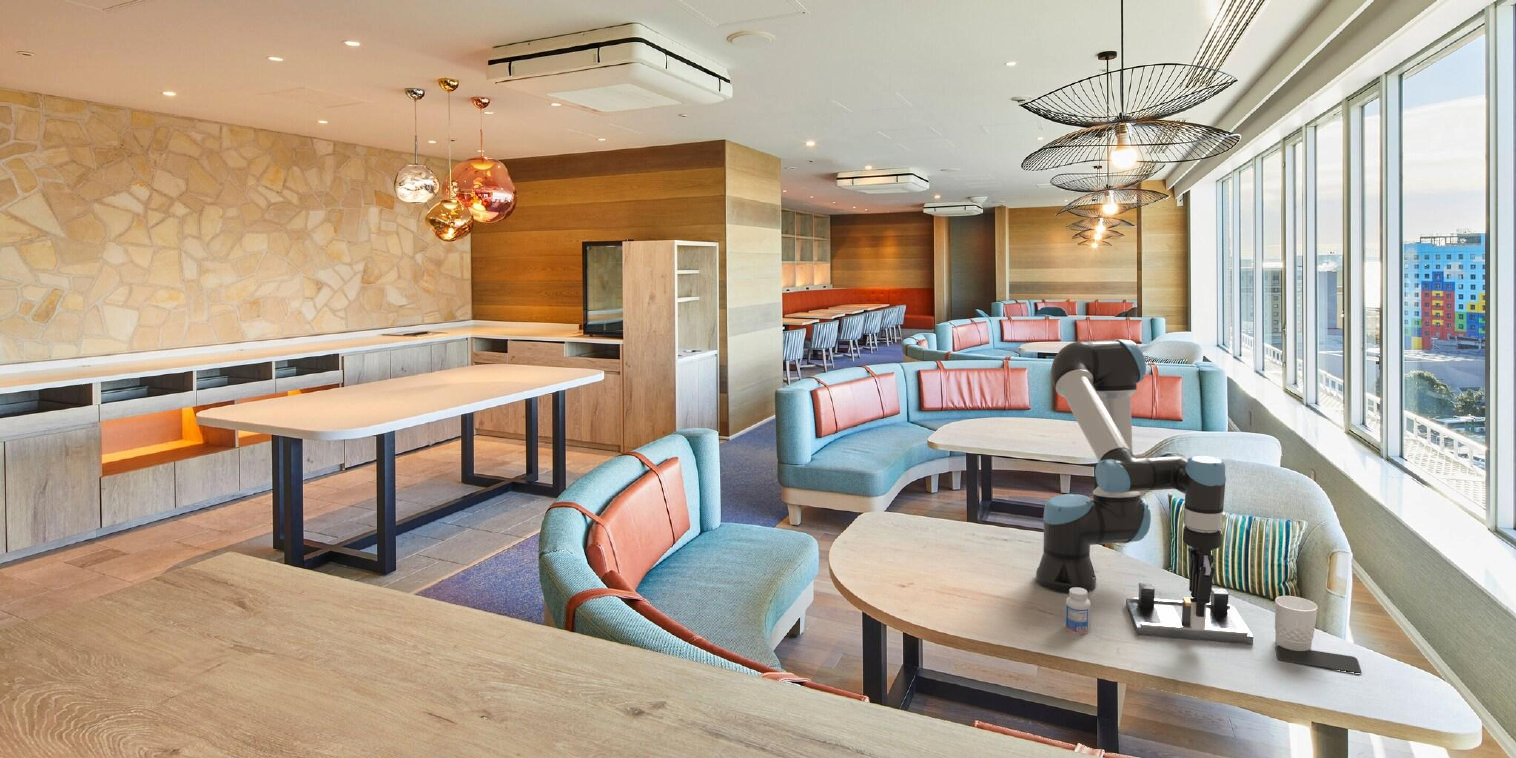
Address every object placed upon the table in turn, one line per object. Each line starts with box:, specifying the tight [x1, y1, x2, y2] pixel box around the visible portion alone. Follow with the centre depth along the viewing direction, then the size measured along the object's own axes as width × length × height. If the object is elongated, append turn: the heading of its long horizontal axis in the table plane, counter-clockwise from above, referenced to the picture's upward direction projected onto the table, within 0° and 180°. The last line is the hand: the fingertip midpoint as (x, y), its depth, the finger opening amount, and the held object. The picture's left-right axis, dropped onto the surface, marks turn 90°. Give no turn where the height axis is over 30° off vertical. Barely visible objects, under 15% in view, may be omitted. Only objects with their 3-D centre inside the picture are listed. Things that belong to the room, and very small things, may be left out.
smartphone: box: [1275, 645, 1362, 674], centre depth 177 cm, size 7×1×15 cm
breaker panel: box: [1125, 582, 1254, 646], centre depth 195 cm, size 24×16×7 cm, turn 74°
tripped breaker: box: [1182, 596, 1191, 626], centre depth 191 cm, size 3×3×6 cm
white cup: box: [1274, 595, 1319, 651], centre depth 183 cm, size 8×8×10 cm
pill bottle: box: [1065, 587, 1091, 635], centre depth 194 cm, size 6×5×10 cm
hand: (1197, 627), depth 185 cm, fingers closed
